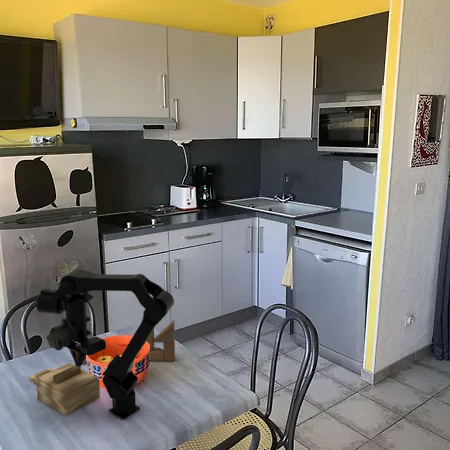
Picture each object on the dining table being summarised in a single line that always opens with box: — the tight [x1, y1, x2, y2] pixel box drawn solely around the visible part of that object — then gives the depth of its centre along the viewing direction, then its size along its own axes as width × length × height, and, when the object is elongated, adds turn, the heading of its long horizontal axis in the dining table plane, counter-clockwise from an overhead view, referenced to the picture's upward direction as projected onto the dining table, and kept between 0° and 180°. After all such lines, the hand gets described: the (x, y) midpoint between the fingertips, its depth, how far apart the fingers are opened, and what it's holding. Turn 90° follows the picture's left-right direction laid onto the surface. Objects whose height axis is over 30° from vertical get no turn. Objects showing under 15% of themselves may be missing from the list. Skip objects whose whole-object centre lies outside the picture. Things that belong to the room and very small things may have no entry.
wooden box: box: [28, 367, 101, 417], centre depth 143 cm, size 26×12×6 cm, turn 53°
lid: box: [37, 362, 99, 396], centre depth 138 cm, size 14×11×3 cm
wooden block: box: [142, 309, 176, 363], centre depth 162 cm, size 4×11×18 cm, turn 89°
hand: (78, 366), depth 134 cm, fingers closed
